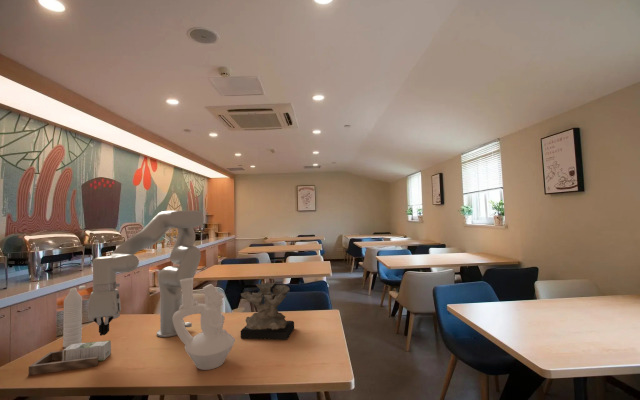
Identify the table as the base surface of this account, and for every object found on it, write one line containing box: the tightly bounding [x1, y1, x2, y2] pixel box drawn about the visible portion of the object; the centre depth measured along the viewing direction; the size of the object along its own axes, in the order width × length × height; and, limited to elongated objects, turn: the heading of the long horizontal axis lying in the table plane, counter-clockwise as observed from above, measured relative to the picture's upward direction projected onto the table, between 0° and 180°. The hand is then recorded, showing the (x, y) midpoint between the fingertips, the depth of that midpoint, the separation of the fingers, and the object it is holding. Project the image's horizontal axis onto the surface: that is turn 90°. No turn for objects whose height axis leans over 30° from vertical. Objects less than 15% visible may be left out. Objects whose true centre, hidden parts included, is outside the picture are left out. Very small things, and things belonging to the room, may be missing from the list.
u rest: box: [28, 350, 99, 376], centre depth 117 cm, size 21×12×3 cm, turn 104°
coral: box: [239, 281, 295, 341], centre depth 144 cm, size 25×20×22 cm
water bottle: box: [62, 285, 87, 349], centre depth 136 cm, size 9×6×25 cm
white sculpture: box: [172, 278, 236, 371], centre depth 113 cm, size 18×22×32 cm
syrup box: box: [61, 340, 112, 362], centre depth 119 cm, size 6×6×14 cm
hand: (104, 334), depth 120 cm, fingers closed
